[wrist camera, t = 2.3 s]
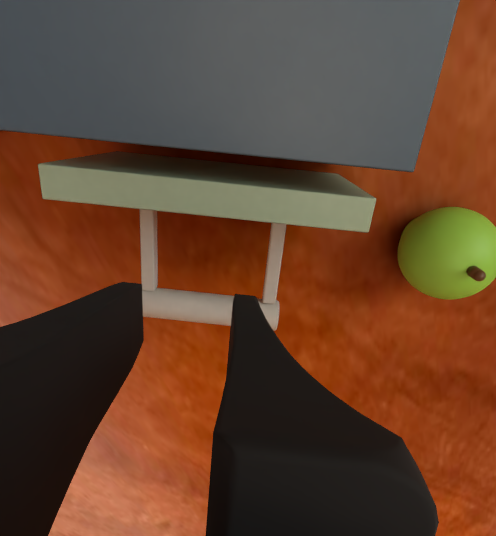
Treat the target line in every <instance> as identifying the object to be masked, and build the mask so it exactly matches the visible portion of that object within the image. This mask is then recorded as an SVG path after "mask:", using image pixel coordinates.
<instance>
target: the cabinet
mask: <svg viewBox="0 0 496 536" xmlns="http://www.w3.org/2000/svg"><path fill="white" fill-rule="evenodd" d="M459 1H460V0H0V130H2V131H12V132H22V133H32V134H42V135H51V136H61V137H71V138H81V139H91V140H101V141H110V142H120V143H130V144H140V145H150V146H159V147H169V148H179V149H189V150H199V151H209V152H218V153H228V154H238V155H248V156H258V157H267V158H277V159H287V160H297V161H307V162H317V163H326V164H336V165H346V166H356V167H366V168H375V169H385V170H395V171H405V172H413V171H414V169H415V165H416V161H417V157H418V154H419V150H420V146H421V143H422V139H423V135H424V131H425V128H426V124H427V120H428V116H429V113H430V109H431V105H432V102H433V98H434V94H435V90H436V87H437V83H438V79H439V75H440V72H441V68H442V64H443V61H444V57H445V53H446V49H447V46H448V42H449V38H450V34H451V31H452V27H453V23H454V20H455V16H456V12H457V8H458V5H459Z"/></svg>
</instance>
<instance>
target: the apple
mask: <svg viewBox="0 0 496 536" xmlns="http://www.w3.org/2000/svg"><path fill="white" fill-rule="evenodd" d="M397 257H398V263H399V267H400V270H401V272H402V274H403V275H404V277H405V278H406V280H407V281H408V282H409V283H410V284H411V285H412V286H413V287H414V288H416V289H417V290H419V291H420V292H422V293H424V294H426V295H429V296H431V297H435V298H440V299H460V298H464V297H468V296H471V295H474V294H476V293H478V292H480V291H481V290H483V289H484V288H486V287H487V286H488V285H489V284H490V283H491V282H492V281H493V280H494V279H495V278H496V227H495V226H494V225H493V223H491V222H490V221H489V220H488V219H487V218H486V217H484V216H483V215H481V214H479V213H477V212H475V211H473V210H469V209H465V208H460V207H444V208H439V209H435V210H431V211H429V212H426V213H424V214H422V215H421V216H419V217H417V218H415V219H414V220H412V221H411V222H410V223H409V224H408V225H407V226H406V227H405V229H404V231H403V233H402V235H401V239H400V241H399V245H398V253H397Z"/></svg>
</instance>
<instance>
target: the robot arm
mask: <svg viewBox="0 0 496 536" xmlns="http://www.w3.org/2000/svg"><path fill="white" fill-rule="evenodd" d="M143 340H144V338H143V300H142V284H136V283H127V282H121V283H117V284H114V285H112V286H109V287H106V288H104V289H101V290H99V291H97V292H94V293H92V294H90V295H87V296H85V297H82V298H80V299H78V300H75V301H73V302H71V303H68V304H66V305H63V306H60V307H58V308H55V309H52V310H50V311H47V312H45V313H42V314H39V315H37V316H34V317H31V318H28V319H25V320H22V321H19V322H16V323H13V324H9V325H6V326H3V327H0V536H48V534H49V532H50V529H51V527H52V525H53V522H54V520H55V517H56V515H57V513H58V510H59V508H60V506H61V504H62V501H63V499H64V497H65V494H66V492H67V490H68V487H69V485H70V483H71V481H72V478H73V476H74V474H75V472H76V470H77V467H78V465H79V463H80V461H81V459H82V457H83V454H84V452H85V450H86V448H87V446H88V444H89V442H90V440H91V438H92V436H93V434H94V433H95V431H96V429H97V427H98V425H99V424H100V422H101V420H102V419H103V417H104V415H105V414H106V412H107V410H108V409H109V407H110V405H111V403H112V402H113V400H114V398H115V397H116V395H117V393H118V392H119V390H120V388H121V387H122V385H123V383H124V381H125V380H126V378H127V376H128V374H129V373H130V371H131V369H132V367H133V365H134V363H135V360H136V358H137V356H138V353H139V351H140V348H141V346H142V343H143ZM438 523H439V522H438V516H437V510H436V505H435V503H434V501H433V498H432V496H431V494H430V492H429V490H428V487H427V485H426V483H425V480H424V478H423V476H422V474H421V472H420V470H419V468H418V466H417V464H416V462H415V461H414V459H413V457H412V456H411V454H410V452H409V450H408V449H407V447H406V445H405V443H404V441H403V439H402V438H401V437H399V436H398V435H396V434H394V433H392V432H391V431H389V430H387V429H386V428H384V427H382V426H381V425H379V424H377V423H376V422H374V421H372V420H371V419H369V418H367V417H365V416H364V415H362V414H361V413H359V412H357V411H356V410H355V409H353V408H352V407H350V406H349V405H347V404H346V403H345V402H343V401H342V400H340V399H339V398H338V397H336V396H335V395H334V394H332V393H331V392H330V391H329V390H327V389H326V388H325V387H324V386H322V385H321V384H320V383H319V382H318V381H317V380H316V379H314V378H313V377H312V376H311V375H310V374H309V373H308V372H307V371H306V370H305V369H303V368H302V367H301V366H300V364H299V363H298V362H297V361H296V360H295V359H294V358H293V357H292V356H291V355H290V353H289V352H288V351H287V350H286V348H285V347H284V346H283V344H282V343H281V341H280V340H279V339H278V337H277V336H276V334H275V333H274V331H273V329H272V328H271V326H270V324H269V323H268V321H267V319H266V317H265V315H264V313H263V311H262V309H261V307H260V305H259V302H258V299H257V298H256V297H255V296H249V295H240V294H235V296H234V299H233V306H232V318H231V329H230V341H229V352H228V364H227V376H226V383H225V387H224V392H223V396H222V401H221V405H220V409H219V413H218V417H217V421H216V425H215V428H214V432H213V445H212V459H211V472H210V486H209V499H208V513H207V526H206V536H435V534H436V530H437V527H438Z"/></svg>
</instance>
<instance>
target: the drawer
mask: <svg viewBox="0 0 496 536" xmlns="http://www.w3.org/2000/svg"><path fill="white" fill-rule="evenodd" d="M38 169H39V177H40V184H41V192H42V198H43V199H48V200H58V201H68V202H77V203H87V204H96V205H106V206H116V207H125V208H135V209H140V243H141V280H142V300H143V317H152V318H162V319H171V320H180V321H190V322H199V323H208V324H218V325H227V326H231V318H232V306H233V299H234V296H231V295H221V294H212V293H202V292H193V291H184V290H174V289H165V288H157V286H158V251H157V211H164V212H173V213H183V214H193V215H202V216H212V217H221V218H231V219H241V220H250V221H260V222H269V223H271V231H270V239H269V248H268V256H267V264H266V272H265V280H264V288H263V297H262V299H259V298H257V299H258V302H259V305H260V307H261V309H262V311H263V313H264V315H265V317H266V319H267V321H268V323H269V324H270V326H271V328H272V329H273V331H275V330H276V329H277V326H278V319H279V301H277V300H276V296H277V289H278V282H279V275H280V267H281V260H282V253H283V246H284V239H285V232H286V224H289V225H298V226H308V227H317V228H327V229H337V230H346V231H356V232H366V233H367V232H369V228H370V224H371V220H372V215H373V211H374V207H375V203H376V198H374V197H373V196H371V195H370V194H368V193H367V192H365V191H363V190H362V189H360V188H359V187H357V186H356V185H354V184H353V183H351V182H350V181H348V180H347V179H345V178H343V177H342V176H340V175H339V174H334V173H325V172H315V171H305V170H295V169H285V168H276V167H266V166H256V165H246V164H236V163H227V162H217V161H207V160H197V159H187V158H178V157H168V156H158V155H148V154H139V153H129V152H119V151H116V152H110V153H103V154H97V155H90V156H84V157H78V158H71V159H65V160H59V161H52V162H46V163H40V164H38Z"/></svg>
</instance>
